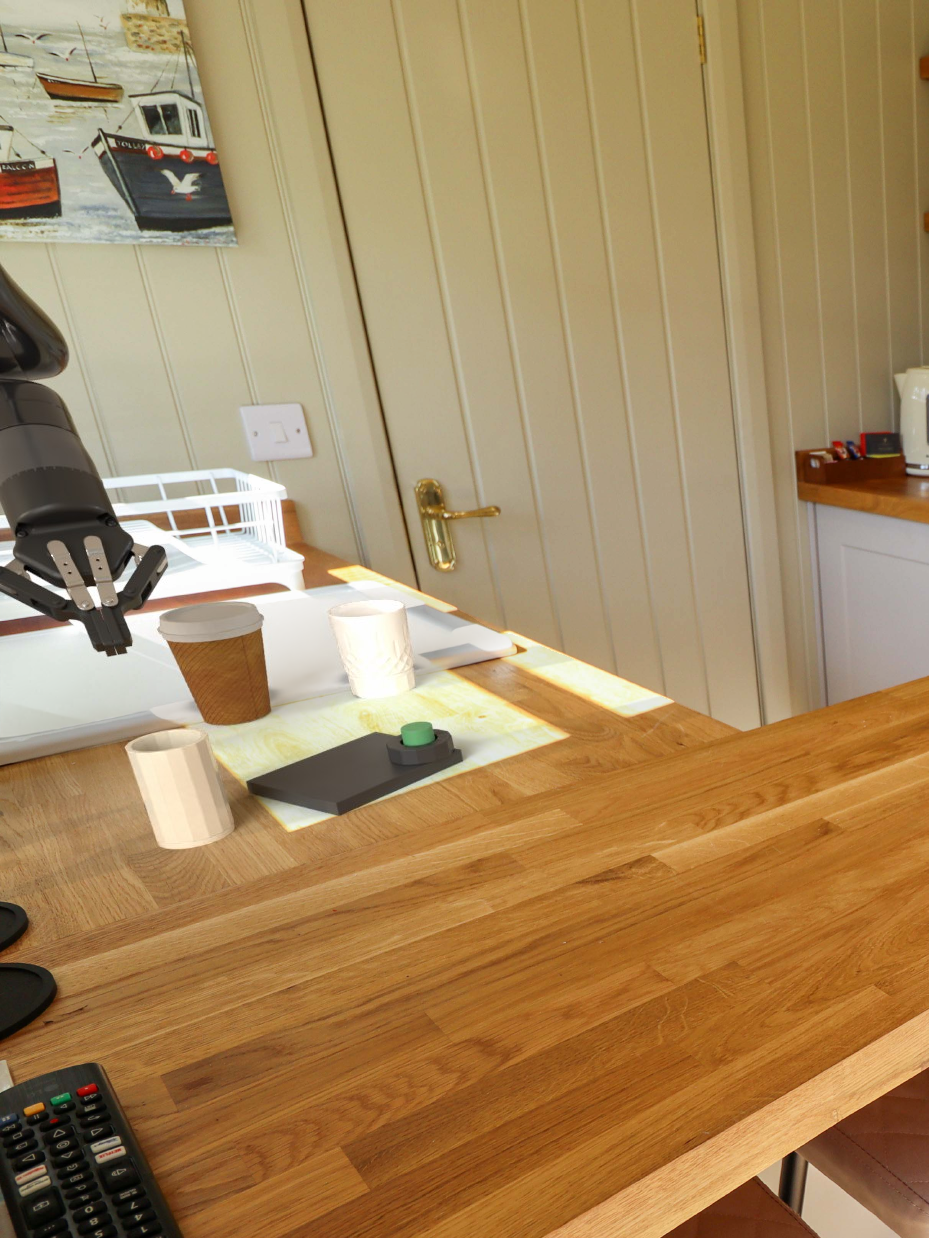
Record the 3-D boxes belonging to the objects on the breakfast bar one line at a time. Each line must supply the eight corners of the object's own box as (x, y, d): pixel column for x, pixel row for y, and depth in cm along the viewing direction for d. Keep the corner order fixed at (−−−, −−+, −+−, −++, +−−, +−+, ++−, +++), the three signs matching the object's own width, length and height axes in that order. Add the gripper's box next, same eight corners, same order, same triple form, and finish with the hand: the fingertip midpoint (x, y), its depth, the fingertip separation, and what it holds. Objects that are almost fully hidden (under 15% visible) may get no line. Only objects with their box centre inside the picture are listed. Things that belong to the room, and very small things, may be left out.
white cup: (401, 701, 127) (382, 618, 123) (333, 700, 127) (312, 617, 123) (433, 679, 134) (417, 600, 130) (369, 678, 134) (351, 599, 130)
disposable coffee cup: (180, 713, 122) (147, 609, 118) (278, 695, 128) (251, 595, 123) (193, 738, 116) (160, 629, 111) (296, 717, 122) (269, 613, 117)
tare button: (418, 749, 107) (414, 733, 107) (397, 745, 108) (393, 728, 108) (441, 739, 110) (438, 723, 109) (421, 735, 111) (417, 719, 110)
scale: (342, 817, 99) (334, 787, 98) (249, 794, 103) (240, 765, 102) (469, 761, 112) (463, 733, 110) (381, 742, 116) (375, 716, 114)
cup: (185, 854, 92) (153, 757, 89) (142, 842, 94) (109, 746, 91) (249, 827, 97) (222, 734, 94) (207, 816, 99) (178, 724, 95)
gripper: (-58, 473, 92) (9, 646, 89) (135, 455, 100) (202, 614, 97) (-35, 524, 98) (29, 689, 95) (145, 503, 106) (209, 654, 103)
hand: (116, 650), depth 96 cm, fingers closed
